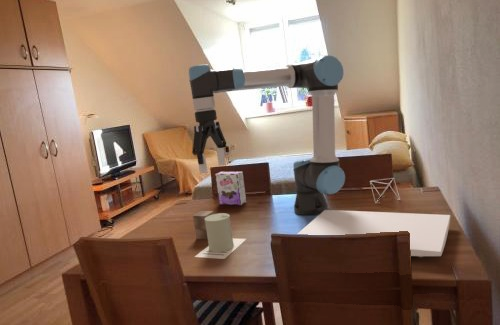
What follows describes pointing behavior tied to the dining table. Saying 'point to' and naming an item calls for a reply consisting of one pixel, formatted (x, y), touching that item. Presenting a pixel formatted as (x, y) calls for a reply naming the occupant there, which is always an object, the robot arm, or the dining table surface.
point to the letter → (220, 255)
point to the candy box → (231, 188)
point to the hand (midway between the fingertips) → (213, 169)
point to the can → (219, 232)
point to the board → (386, 227)
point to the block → (201, 224)
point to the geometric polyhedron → (385, 188)
